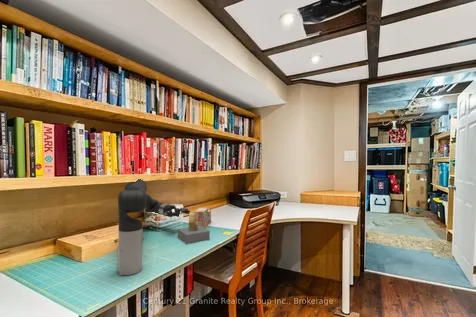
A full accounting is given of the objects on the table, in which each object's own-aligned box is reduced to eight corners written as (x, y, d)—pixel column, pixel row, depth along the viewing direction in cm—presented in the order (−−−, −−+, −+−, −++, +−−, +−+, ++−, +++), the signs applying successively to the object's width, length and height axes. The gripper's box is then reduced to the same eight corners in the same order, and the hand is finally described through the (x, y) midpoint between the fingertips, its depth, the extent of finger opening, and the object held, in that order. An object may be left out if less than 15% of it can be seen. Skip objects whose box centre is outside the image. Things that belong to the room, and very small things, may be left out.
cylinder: (190, 231, 140) (191, 214, 141) (187, 229, 145) (187, 212, 145) (198, 230, 143) (199, 213, 143) (195, 228, 147) (195, 211, 147)
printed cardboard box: (202, 221, 183) (202, 205, 183) (211, 222, 183) (211, 205, 183) (194, 230, 162) (194, 211, 162) (203, 230, 161) (203, 211, 161)
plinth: (186, 244, 134) (186, 235, 134) (177, 237, 146) (177, 229, 146) (209, 239, 142) (209, 230, 142) (199, 233, 154) (199, 225, 154)
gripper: (158, 206, 153) (175, 209, 144) (176, 202, 165) (193, 205, 155) (158, 218, 153) (175, 222, 144) (176, 213, 165) (193, 217, 155)
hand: (184, 213), depth 149 cm, fingers open, 8 cm apart
